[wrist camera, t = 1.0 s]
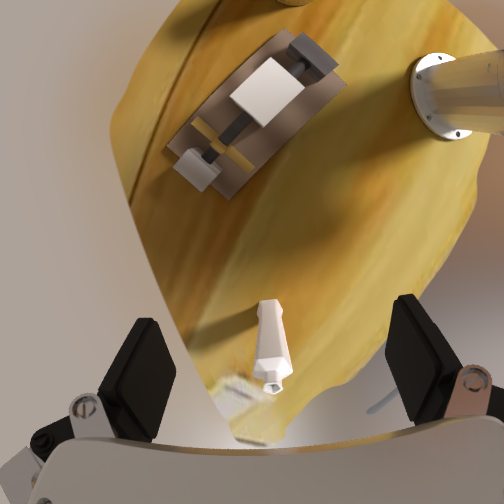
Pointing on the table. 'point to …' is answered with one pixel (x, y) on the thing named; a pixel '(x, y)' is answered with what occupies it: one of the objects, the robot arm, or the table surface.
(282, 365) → the perfume bottle
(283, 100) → the notched white rod block
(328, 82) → the linear slide rail
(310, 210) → the table surface
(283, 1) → the vase
